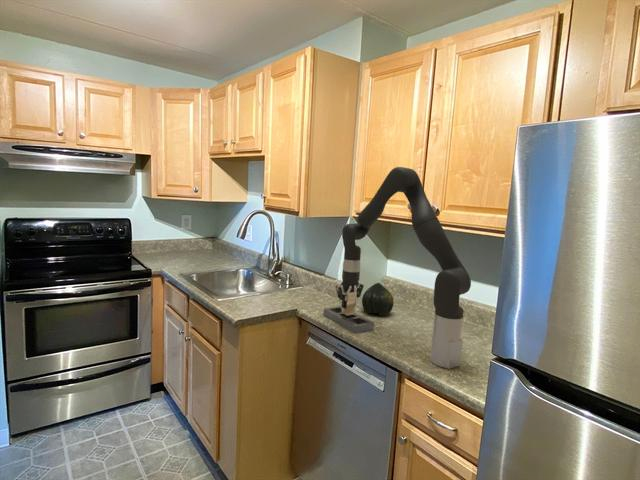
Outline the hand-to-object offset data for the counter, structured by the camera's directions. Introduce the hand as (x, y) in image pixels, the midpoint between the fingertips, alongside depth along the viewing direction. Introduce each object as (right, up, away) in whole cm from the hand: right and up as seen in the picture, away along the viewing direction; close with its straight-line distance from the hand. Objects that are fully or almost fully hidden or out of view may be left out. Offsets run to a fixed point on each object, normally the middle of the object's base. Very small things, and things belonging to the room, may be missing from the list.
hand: (348, 307), depth 165 cm
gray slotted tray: (0, -7, +1) cm, 7 cm away
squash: (+15, -6, +16) cm, 23 cm away
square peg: (0, -3, 0) cm, 3 cm away
